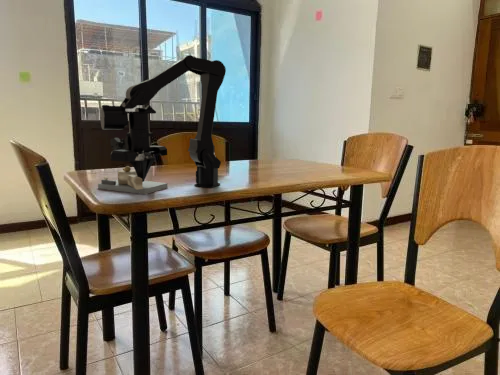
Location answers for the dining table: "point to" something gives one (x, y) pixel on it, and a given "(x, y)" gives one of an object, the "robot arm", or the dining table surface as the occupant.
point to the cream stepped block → (130, 178)
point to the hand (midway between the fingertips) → (141, 181)
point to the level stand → (147, 187)
